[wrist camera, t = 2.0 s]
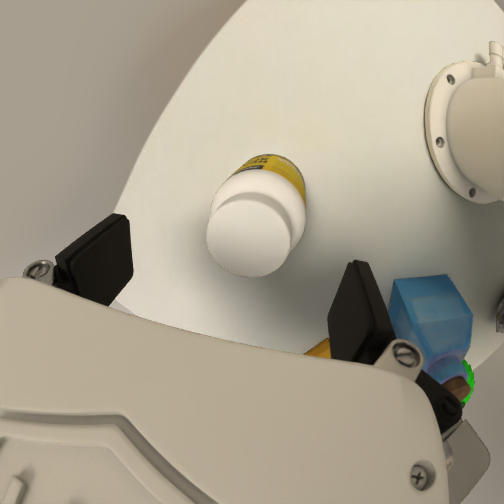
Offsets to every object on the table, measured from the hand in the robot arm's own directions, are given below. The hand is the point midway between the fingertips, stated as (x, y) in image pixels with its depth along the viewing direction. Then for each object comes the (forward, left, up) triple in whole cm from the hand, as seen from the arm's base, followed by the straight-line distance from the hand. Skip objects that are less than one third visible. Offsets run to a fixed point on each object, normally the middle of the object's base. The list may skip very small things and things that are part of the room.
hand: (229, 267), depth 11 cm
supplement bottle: (0, 0, -12) cm, 12 cm away
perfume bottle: (+8, +17, -12) cm, 22 cm away
